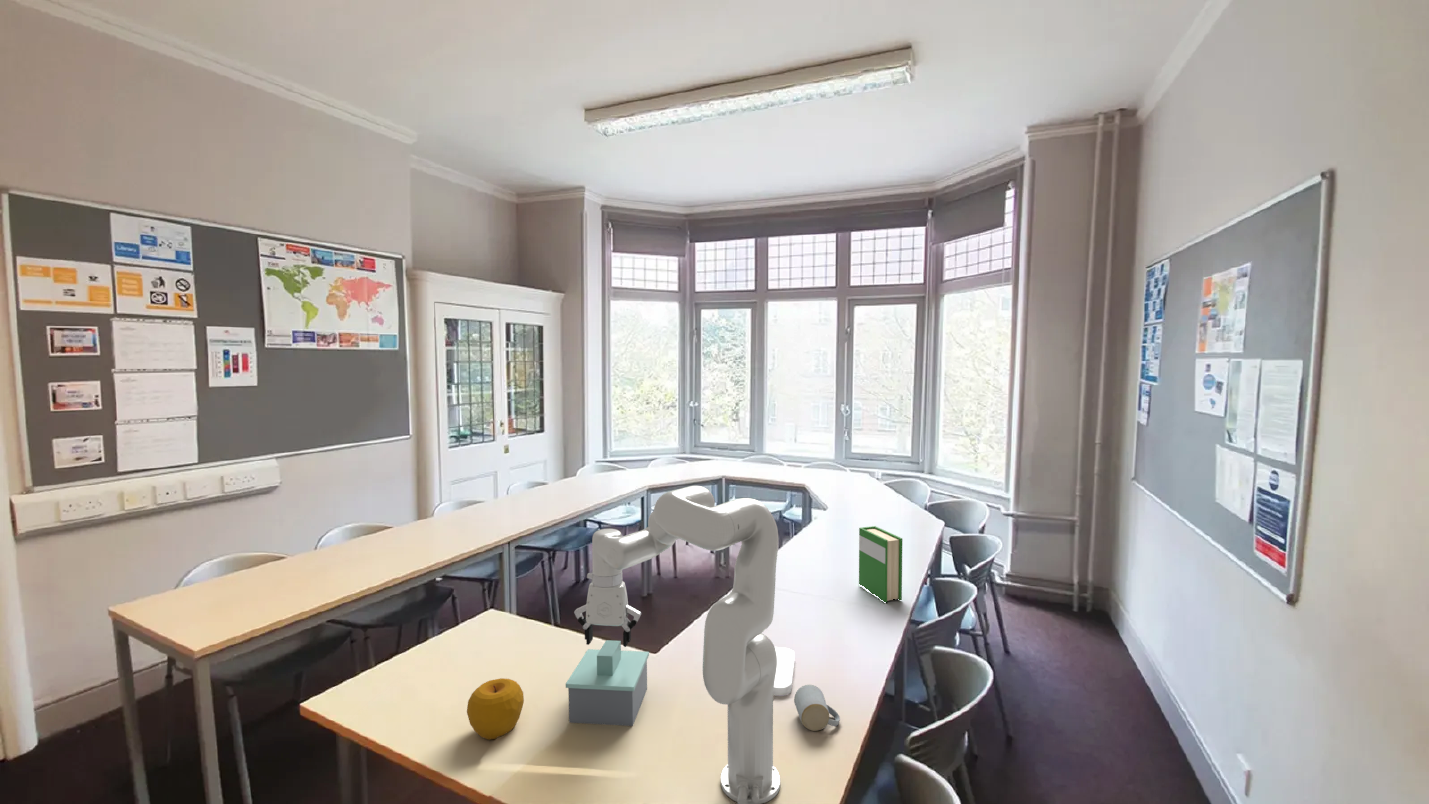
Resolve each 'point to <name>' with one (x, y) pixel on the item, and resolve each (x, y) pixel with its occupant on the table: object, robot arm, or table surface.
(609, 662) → the lid
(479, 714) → the apple
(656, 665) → the table surface
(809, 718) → the ceramic mug
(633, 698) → the tub
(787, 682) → the computer
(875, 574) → the hardback book
